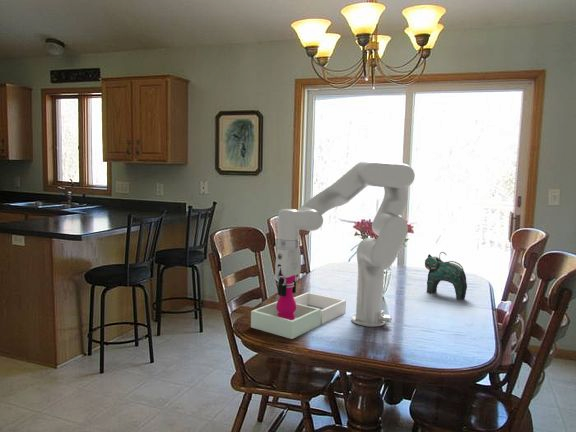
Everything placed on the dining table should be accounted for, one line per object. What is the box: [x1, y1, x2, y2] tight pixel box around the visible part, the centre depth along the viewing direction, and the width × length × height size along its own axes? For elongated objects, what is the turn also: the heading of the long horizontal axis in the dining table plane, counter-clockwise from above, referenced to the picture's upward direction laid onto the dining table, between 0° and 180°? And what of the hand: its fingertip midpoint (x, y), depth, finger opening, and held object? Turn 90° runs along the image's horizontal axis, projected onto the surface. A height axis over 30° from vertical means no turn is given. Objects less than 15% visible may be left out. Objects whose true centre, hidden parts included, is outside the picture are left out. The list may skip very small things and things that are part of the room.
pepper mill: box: [276, 274, 296, 320], centre depth 168 cm, size 7×7×20 cm
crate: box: [293, 291, 347, 325], centre depth 184 cm, size 18×18×5 cm
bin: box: [250, 300, 322, 340], centre depth 169 cm, size 18×18×6 cm
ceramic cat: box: [424, 251, 468, 301], centre depth 215 cm, size 20×6×20 cm, turn 41°
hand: (286, 293), depth 168 cm, fingers closed on pepper mill, 5 cm apart
